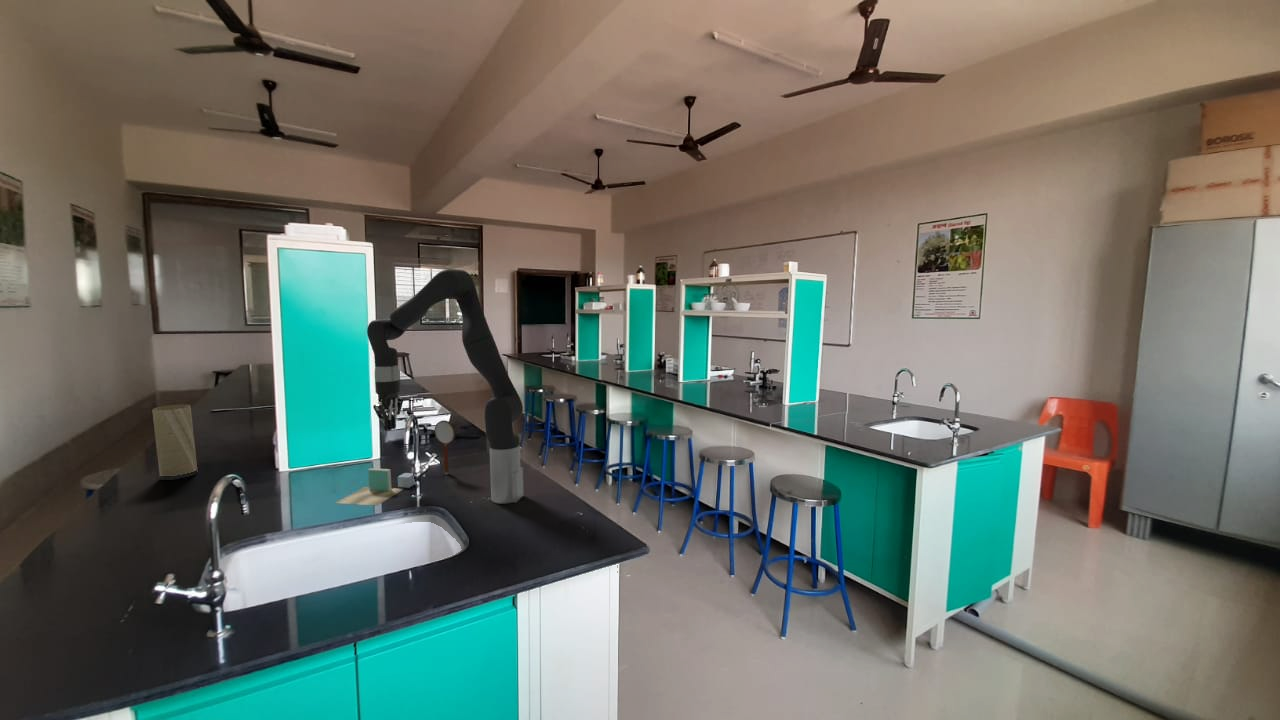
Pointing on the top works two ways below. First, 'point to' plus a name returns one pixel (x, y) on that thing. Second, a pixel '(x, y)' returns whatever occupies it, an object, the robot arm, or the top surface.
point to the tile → (379, 479)
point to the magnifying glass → (445, 437)
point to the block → (406, 480)
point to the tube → (174, 440)
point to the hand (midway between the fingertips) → (390, 429)
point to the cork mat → (368, 497)
